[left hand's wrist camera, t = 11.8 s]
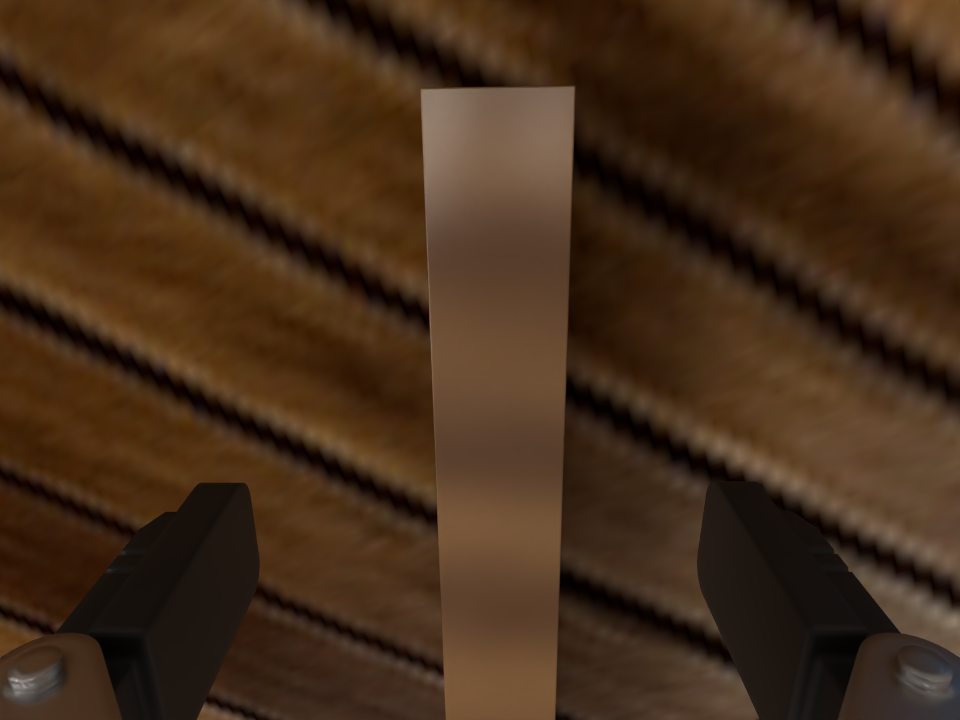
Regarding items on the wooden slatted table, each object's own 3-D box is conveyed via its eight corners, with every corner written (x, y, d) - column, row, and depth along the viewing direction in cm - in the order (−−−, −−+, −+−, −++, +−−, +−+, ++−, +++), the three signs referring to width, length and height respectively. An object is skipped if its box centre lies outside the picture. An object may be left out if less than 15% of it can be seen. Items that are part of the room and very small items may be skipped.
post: (435, 95, 26) (419, 87, 20) (556, 93, 25) (575, 85, 20) (465, 980, 44) (461, 1108, 38) (535, 981, 44) (542, 1109, 38)
